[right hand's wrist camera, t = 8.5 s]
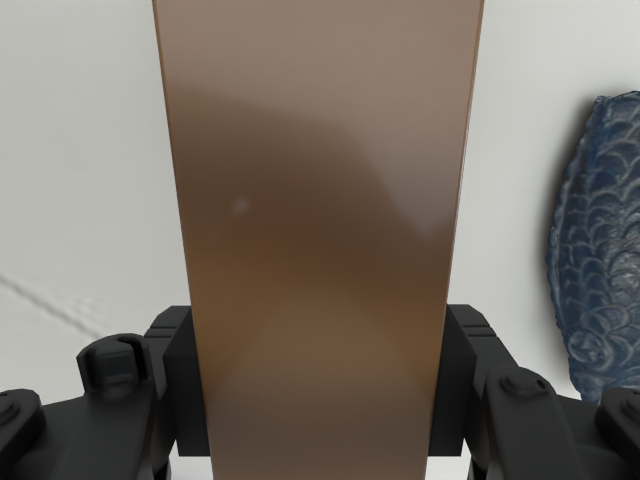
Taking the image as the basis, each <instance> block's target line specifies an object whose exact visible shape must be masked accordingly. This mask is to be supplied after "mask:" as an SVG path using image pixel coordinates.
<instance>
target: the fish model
mask: <svg viewBox="0 0 640 480" xmlns="http://www.w3.org/2000/svg"><path fill="white" fill-rule="evenodd" d="M585 124H586V129H585V132H584V135H583V136H582V138H581V139H580V141H579V142H578V143H577V144H576V147H575V153H576V154H575V156H574V157H573V159H572V160H571V161H570V163H569V164H568V166H567V168H566V170H565V172H564V178H565V181H564V182H563V184H562V185H561V186H560V189H559V191H558V193H557V195H556V197H557V206H556V209H555V211H554V213H553V217H552V218H553V226H552V227H551V229H550V234H549V238H548V244H549V250H548V252H547V254H546V256H545V260H546V263H547V266H548V271H547V279H548V282H549V284H550V285H551V287H552V291H551V299H552V301H553V303H554V306H555V309H556V312H557V315H556V316H555V317H556V319H557V326H558V328H559V329H561V332H562V335H563V337H564V344H565V347H566V349H567V351H568V353H569V358H568V361H569V373H570V380H571V382H572V384H573V386H574V387H575V389H576V390H577V391H578V392H579V393H581V399H582V401H587V402H591V403H596V404H598V403H599V400H600V396H601V393H603V392H604V391H605V390H606V389H607V388H614V387H624V388H632V389H635V390H640V91H631V92H629V93H625V94H622V95H619V96H617V97H615V98H612V99H611V97H604V96H598V98H597V99H596V100H595V103H594V105H593V107H592V114H591V116H590V118H589V119H588V120H586V121H585Z"/></svg>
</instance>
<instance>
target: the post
mask: <svg viewBox="0 0 640 480" xmlns="http://www.w3.org/2000/svg"><path fill="white" fill-rule="evenodd" d="M484 1H485V0H152V5H153V13H154V21H155V28H156V36H157V44H158V52H159V59H160V67H161V75H162V83H163V91H164V98H165V106H166V114H167V122H168V129H169V137H170V145H171V153H172V161H173V168H174V176H175V184H176V192H177V199H178V207H179V215H180V223H181V231H182V238H183V246H184V254H185V262H186V269H187V277H188V285H189V293H190V300H191V308H192V316H193V324H194V332H195V339H196V347H197V355H198V363H199V370H200V378H201V386H202V394H203V402H204V409H205V417H206V425H207V433H208V440H209V448H210V456H211V464H212V472H213V479H214V480H425V474H426V466H427V458H428V450H429V442H430V434H431V426H432V418H433V410H434V402H435V394H436V386H437V378H438V370H439V362H440V354H441V346H442V337H443V329H444V321H445V313H446V305H447V297H448V289H449V281H450V273H451V265H452V257H453V249H454V241H455V233H456V225H457V217H458V209H459V201H460V193H461V185H462V177H463V169H464V161H465V153H466V145H467V137H468V129H469V121H470V113H471V105H472V97H473V89H474V81H475V73H476V65H477V57H478V49H479V41H480V33H481V25H482V17H483V9H484Z"/></svg>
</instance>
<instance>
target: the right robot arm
mask: <svg viewBox="0 0 640 480" xmlns="http://www.w3.org/2000/svg"><path fill="white" fill-rule="evenodd" d="M76 359H77V363H78V367H79V371H80V375H81V379H82V382H83V386H84V390H85V392H84V395H83V396H81V397H78V398H74V399H70V400H66V401H61V402H57V403H52V404H48V405H43V406H42V404H41V401H40V397H39V395H38V394H37V393H35V392H34V391H33V390H28V389H15V390H7V391H4V392H0V480H171V467H170V461H169V454H170V452H171V450H172V447H173V445H174V442H175V440H176V442H177V448H178V454H179V456H210V448H209V440H208V433H207V425H206V417H205V409H204V402H203V394H202V386H201V378H200V370H199V363H198V355H197V347H196V339H195V332H194V324H193V316H192V308H191V306H171V307H169V308H168V309H166V310H165V311H163V312H162V313H161V314H159V315H158V316H157V317H156V319H155V320H154V322H153V323H152V324H151V326H150V329H148V330H147V332H146V333H145V335H144V337H143V336H141V335H137V334H133V333H124V334H116V335H111V336H107V337H104V338H102V339H99V340H97V341H95V342H93V343H91V344H90V345H88V346H87V347H85V348H84V349H82V351H81V352H80V353H79V354H78V356H77V357H76ZM464 438H465V441H466V443H467V446H468V448H469V450H470V453H471V461H470V466H469V472H468V477H467V480H640V390H635V389H632V388H624V387H614V388H607V389H606V390H605V391H604V392H603V393H601V396H600V400H599V403H598V404H596V403H591V402H587V401H582V400H577V399H573V398H568V397H565V396H561V395H558V394H556V392H555V390H554V389H553V387H552V386H551V384H550V383H549V382H548V381H547V380H546V379H544V378H543V377H542V376H540V375H539V374H537V373H535V372H533V371H531V370H529V369H526V368H523V367H519V366H518V364H517V363H516V362H515V360H514V359H513V357H512V356H511V354H510V353H509V352H508V350H507V349H506V347H505V346H504V344H503V343H502V342H501V340H500V339H499V337H497V336H496V333H495V332H494V330H493V329H492V327H490V325H489V323H488V322H487V320H486V319H485V317H484V316H483V315H482V314H481V313H480V312H478V311H477V310H476V309H474V308H473V307H471V306H470V305H468V304H447V305H446V313H445V321H444V329H443V337H442V346H441V354H440V362H439V370H438V378H437V386H436V394H435V402H434V410H433V418H432V426H431V434H430V442H429V450H428V456H461V452H462V446H463V440H464Z"/></svg>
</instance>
